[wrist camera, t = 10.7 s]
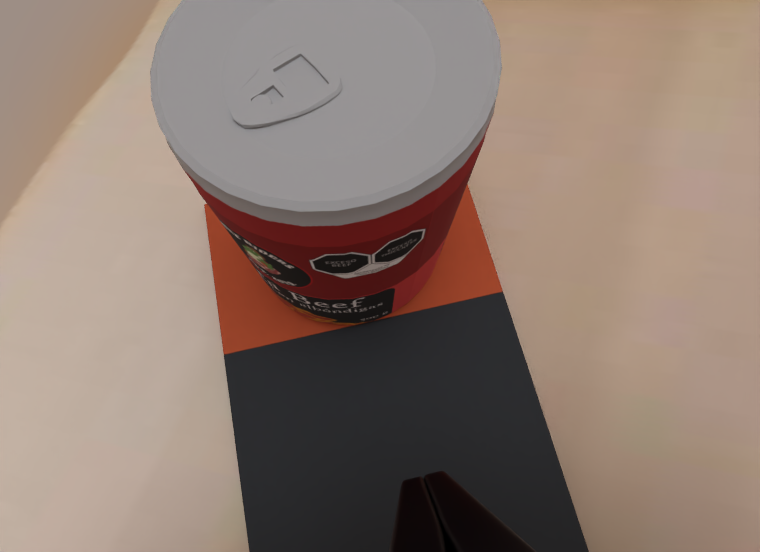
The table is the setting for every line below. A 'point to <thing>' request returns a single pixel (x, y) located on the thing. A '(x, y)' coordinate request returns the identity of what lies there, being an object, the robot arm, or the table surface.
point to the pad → (280, 323)
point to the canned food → (330, 136)
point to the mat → (394, 430)
